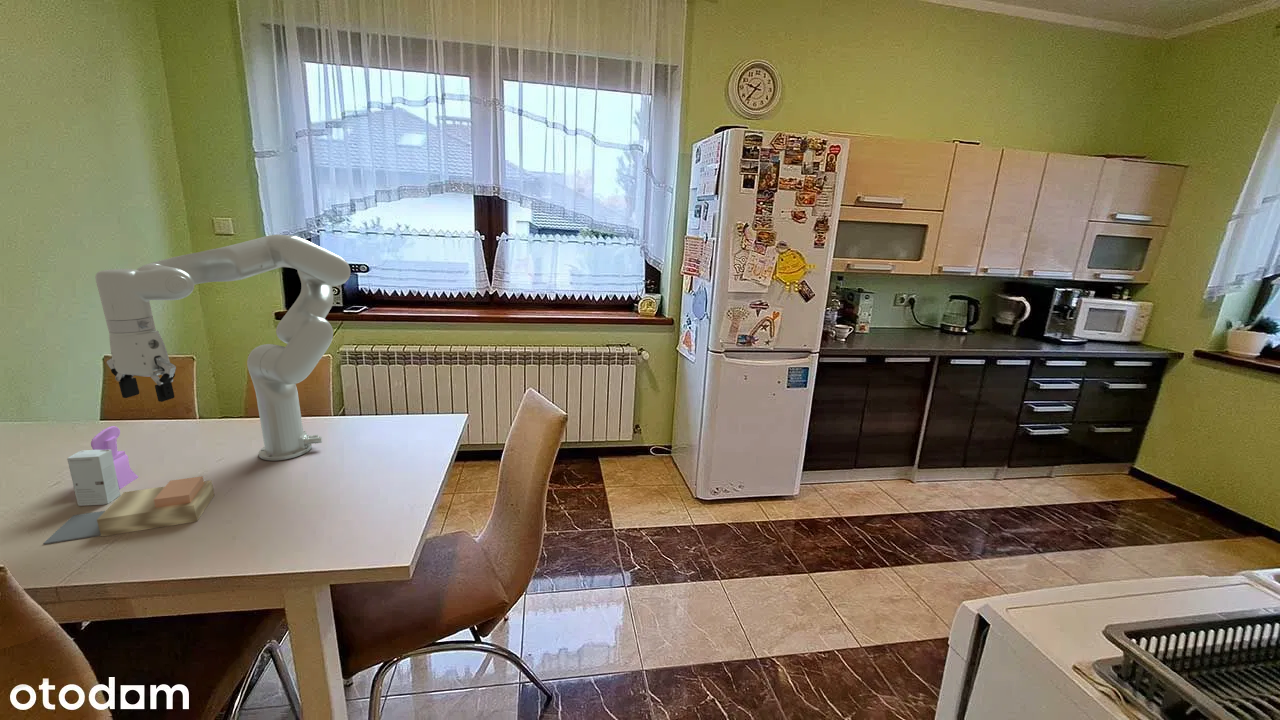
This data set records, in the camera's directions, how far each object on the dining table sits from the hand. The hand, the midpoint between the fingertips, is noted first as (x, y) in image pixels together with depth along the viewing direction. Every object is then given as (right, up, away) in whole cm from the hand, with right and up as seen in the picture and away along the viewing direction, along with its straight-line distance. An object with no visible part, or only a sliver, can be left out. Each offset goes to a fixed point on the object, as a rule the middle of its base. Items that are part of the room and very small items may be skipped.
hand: (148, 397), depth 119 cm
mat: (-6, -27, -8) cm, 29 cm away
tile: (+9, -22, -2) cm, 24 cm away
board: (+6, -26, -3) cm, 27 cm away
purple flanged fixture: (-19, -22, +9) cm, 30 cm away
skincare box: (-13, -24, +2) cm, 28 cm away
